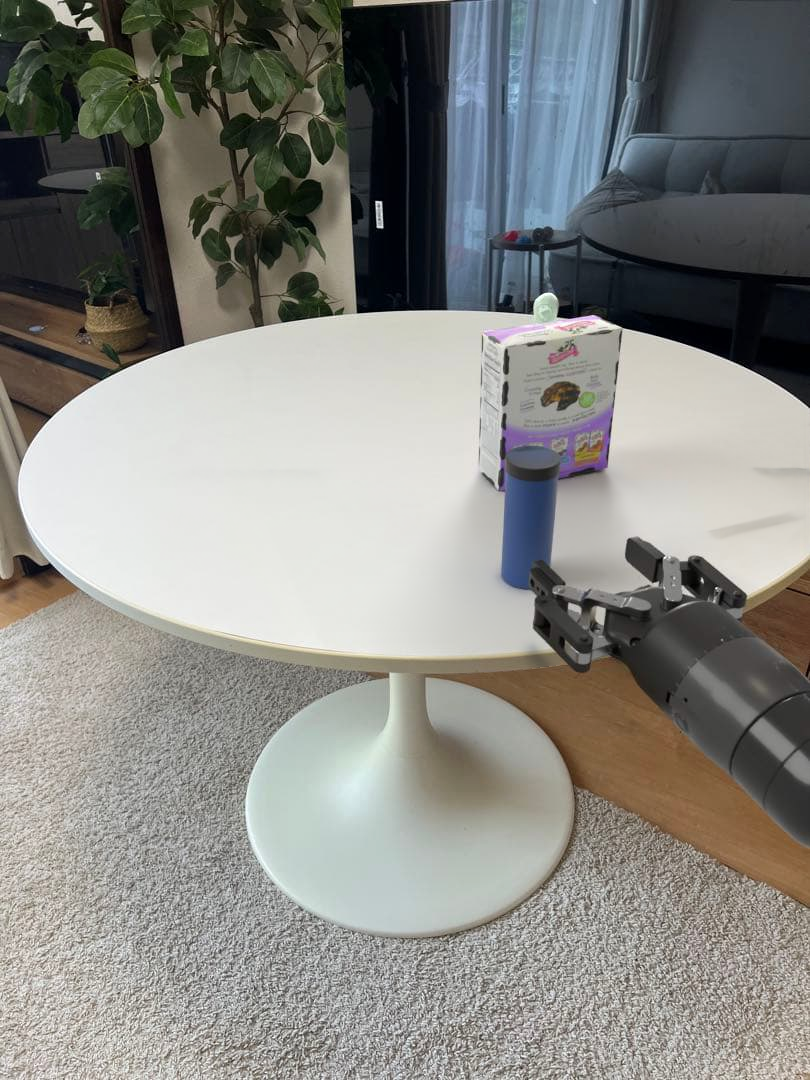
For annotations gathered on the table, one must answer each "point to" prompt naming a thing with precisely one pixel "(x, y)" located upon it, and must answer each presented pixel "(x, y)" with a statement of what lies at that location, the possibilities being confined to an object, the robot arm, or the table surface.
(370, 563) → the table surface
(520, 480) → the blue cylindrical container
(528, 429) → the candy box
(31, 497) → the table surface
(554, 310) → the robot head
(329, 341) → the table surface
